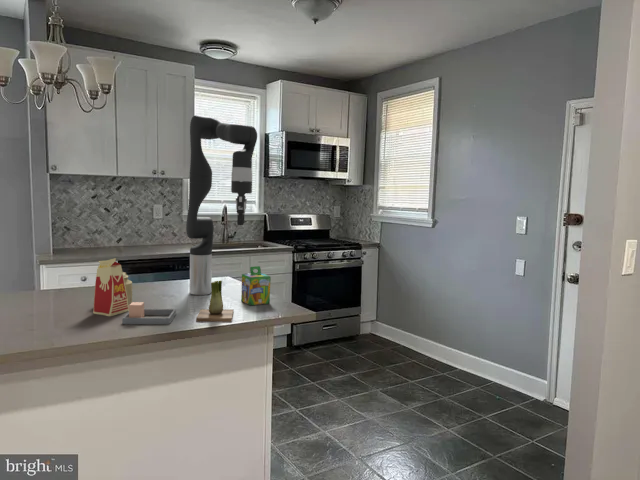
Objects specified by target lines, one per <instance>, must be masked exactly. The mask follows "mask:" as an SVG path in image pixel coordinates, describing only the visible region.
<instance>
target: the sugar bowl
mask: <svg viewBox="0 0 640 480" xmlns="http://www.w3.org/2000/svg"><path fill="white" fill-rule="evenodd" d="M122 272H123V277H124V282H125V287H126V293H127V298H128V305H130V304H131V303H132V302H133V281H132V280H130V279H128V278H129V275H128V274H127V272H124V271H122Z"/></svg>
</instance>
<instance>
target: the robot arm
mask: <svg viewBox="0 0 640 480" xmlns="http://www.w3.org/2000/svg"><path fill="white" fill-rule="evenodd" d="M189 123H190V124H189V140H190V145H189V146H190V159H189V160H190V162H189V163H190V165H189V177H188V178H189V180H188V185H189V186H188V189H189V190H188V191H189V193H188V206H187V207H188V209H187V216H186V227H185V228H186V229H185V232H186V236H187V237H188V238H189V239H192V240H193V239H201V241H200V242H199V243H197V244H196V245H193V246H191V247H190V248H189V294H190V295H192V296H193V295H195V296H205V295H210V294H211V283H212V280H213V279H212V274H213V273H212V272H213V271H212V270H213V269H212V266H213V265H212V264H213V262H212V261H213V260H212V259H213V257H212V256H213V247H214V243H213V241H214V230H215V228H214V227H215V226H214V220H213V219H212V218H211V217H209V216H198V214H199V209H200V207H201V205H202V203H203V201H204V200H205V199H206V198H207V196H208V194H209V193H210V191H211V189H212V187H213V186H212V185H213V183H212V182H213V170H212V166H211V164H209V162H208V160H207V158H206V156H205V154H204V151H203V147H202V140H215V139H220V140H222V141H224V142H228V143H230V144H235V145H243V148H242V150H236V151H234V152H233V153H232V162H231V163H232V164H231V165H232V167H231V183H230V184H231V187H230V189H231V190H230V192H231V193H232V194H237V196H236V198H235V204H236V205H235V210H236V214H237V217H236V218H237V221H236V224H237V225H238V226H243V225H244V223H245V213H246V209H247V203H248V199H247V197H246V194H250V195H251V194H252V192H253V169H252V168H253V167H252V166H253V165H252V164H253V163H252V162H253V156H254V155H253V154H254V150H255V147H256V144H257V140H258V132H257V129H256V128H255V127H254V126H252V125H246V124H239V123H233V122H225V121H223V122H222V121H220V120H218V119H216V118H215V117H212V116H206V115H205V116H204V115H198V114H197V115H193V116H192V117H191V120H190V122H189Z"/></svg>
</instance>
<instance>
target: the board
mask: <svg viewBox="0 0 640 480" xmlns="http://www.w3.org/2000/svg"><path fill="white" fill-rule="evenodd" d="M233 316H234V309H229V308H228V309H227V308H226V309H225V308H223V311H222V313H219V314H211V313H210V312H209V308H208V309H205V308H204V309H203V308H202V309H200V310H199V312H198V313H197V316H196V319H195V322H196V323H197V322H202V323H203V322H207V323H208V322H216V323H217V322H220V323H221V322H227V323H228V322H229V323H231V322H233V321H232V320H233Z"/></svg>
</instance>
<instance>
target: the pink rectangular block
mask: <svg viewBox="0 0 640 480" xmlns="http://www.w3.org/2000/svg"><path fill="white" fill-rule="evenodd" d="M144 309H145V301H143V302H142V301H141V302H140V301H132V303H131V304H130V305H129V311H128V312H129V318H145V315H144Z"/></svg>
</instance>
